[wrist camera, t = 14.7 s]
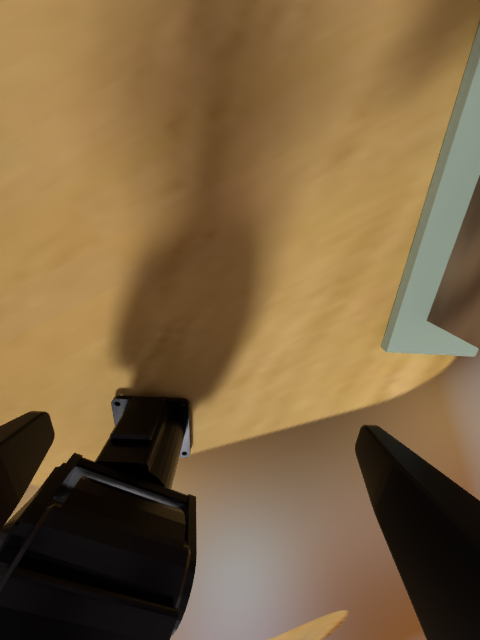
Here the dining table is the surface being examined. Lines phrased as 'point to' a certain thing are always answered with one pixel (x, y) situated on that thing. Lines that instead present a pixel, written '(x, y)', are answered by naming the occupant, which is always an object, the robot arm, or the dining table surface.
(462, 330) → the wooden plank
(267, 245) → the dining table surface
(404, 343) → the tool mat
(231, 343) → the dining table surface
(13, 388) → the dining table surface
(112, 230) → the dining table surface
